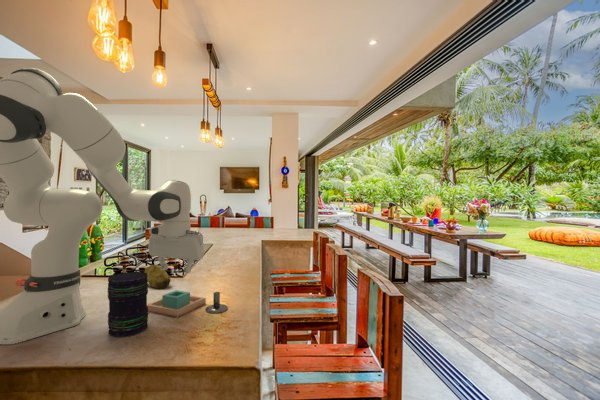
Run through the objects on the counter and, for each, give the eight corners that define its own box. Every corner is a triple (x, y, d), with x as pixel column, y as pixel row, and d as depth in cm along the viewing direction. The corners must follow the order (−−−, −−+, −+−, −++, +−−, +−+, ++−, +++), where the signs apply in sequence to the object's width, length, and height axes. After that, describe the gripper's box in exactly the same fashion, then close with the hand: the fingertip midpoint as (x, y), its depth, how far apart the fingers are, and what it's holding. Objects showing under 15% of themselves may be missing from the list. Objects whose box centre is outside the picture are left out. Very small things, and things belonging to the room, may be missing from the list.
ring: (190, 304, 106) (189, 292, 106) (176, 310, 101) (176, 297, 101) (176, 301, 109) (176, 290, 108) (162, 307, 103) (162, 295, 103)
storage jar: (139, 319, 95) (138, 269, 95) (154, 328, 89) (154, 275, 88) (102, 330, 87) (101, 276, 87) (116, 341, 81) (116, 283, 81)
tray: (177, 318, 96) (177, 311, 96) (145, 311, 101) (145, 304, 101) (205, 304, 108) (205, 297, 108) (176, 298, 113) (176, 292, 113)
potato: (148, 292, 121) (148, 271, 120) (142, 283, 131) (142, 264, 131) (171, 288, 125) (171, 268, 125) (163, 280, 136) (163, 262, 136)
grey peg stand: (218, 314, 99) (218, 297, 99) (200, 311, 102) (200, 294, 101) (231, 307, 105) (231, 291, 105) (214, 304, 108) (214, 288, 108)
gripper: (208, 230, 105) (207, 272, 105) (159, 227, 112) (158, 266, 112) (196, 232, 99) (195, 276, 99) (145, 228, 106) (144, 270, 106)
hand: (175, 271), depth 105 cm, fingers open, 8 cm apart
